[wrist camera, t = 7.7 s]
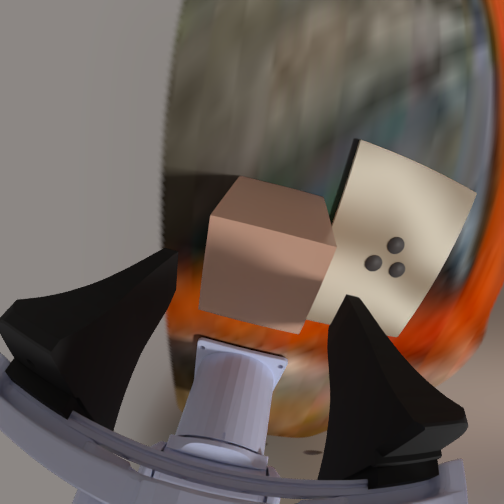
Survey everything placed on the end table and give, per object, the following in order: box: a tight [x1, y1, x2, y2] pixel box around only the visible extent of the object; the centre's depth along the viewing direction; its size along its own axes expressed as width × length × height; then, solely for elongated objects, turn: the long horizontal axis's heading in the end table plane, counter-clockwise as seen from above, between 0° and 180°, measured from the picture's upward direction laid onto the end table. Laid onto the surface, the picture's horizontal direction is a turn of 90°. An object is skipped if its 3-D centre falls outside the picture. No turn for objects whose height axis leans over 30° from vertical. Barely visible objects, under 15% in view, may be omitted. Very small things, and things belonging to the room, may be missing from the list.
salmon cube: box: [199, 176, 337, 334], centre depth 14 cm, size 5×5×6 cm
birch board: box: [306, 140, 477, 337], centre depth 17 cm, size 13×9×1 cm
